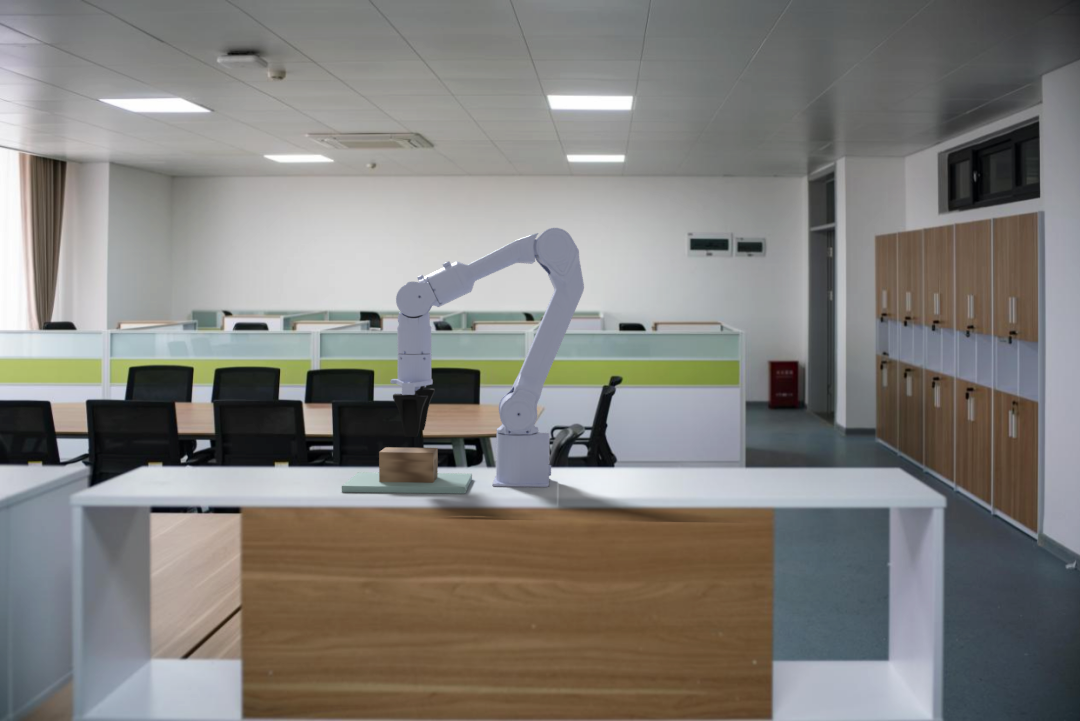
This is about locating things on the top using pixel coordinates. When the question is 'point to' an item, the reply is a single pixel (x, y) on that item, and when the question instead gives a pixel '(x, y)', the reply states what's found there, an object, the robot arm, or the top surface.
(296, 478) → the top surface
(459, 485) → the pin board
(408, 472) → the box
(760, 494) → the top surface
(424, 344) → the robot arm
